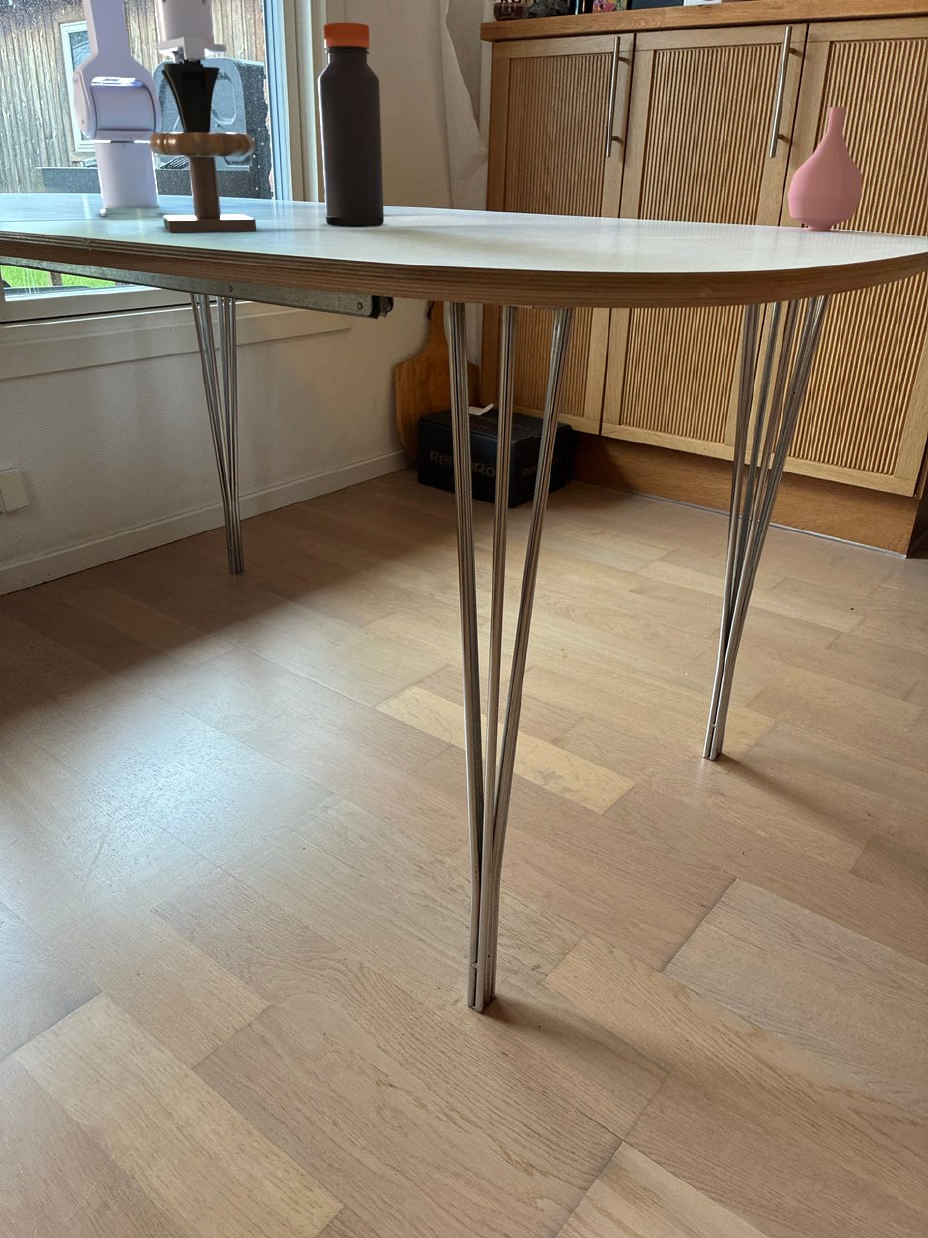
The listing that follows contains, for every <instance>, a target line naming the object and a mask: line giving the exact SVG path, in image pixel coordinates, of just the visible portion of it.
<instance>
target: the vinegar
mask: <svg viewBox="0 0 928 1238" xmlns="http://www.w3.org/2000/svg"><path fill="white" fill-rule="evenodd" d="M323 41H324V42H323V43H324V48H325V49H326V50H325V54H327V57H328V59H327V60H328V63H327V65H326V66H325V67H324V69H323V70H322V71H321V73H320V74H319V76H318V79H317V85H318V88H317V89H318V102H319V105H318V106H319V120H320V137H321V139H320V140H321V150H322V151H321V155H322V173H323V189H324V190H323V191H324V207H325V208H324V209H325V222H326V224H327V225H328V226H332V227H345V228H346V227H347V228H348V227H349V228H350V227H353V228H354V227H356V228H357V227H360V228H361V227H378V226H381V225H382V226H383V224H384V222H385V217H384V216H385V215H384V188H383V186H384V185H383V158H382V157H383V156H382V126H381V125H382V124H381V102H380V101H381V98H380V97H381V95H380V93H381V92H380V80H379V77H378V75H377V74H376V73H375V71H374V70H373V69H372V67H370V65H369V64H368V55H370V51H369V50H370V26H369V25H368V24H366V23H360V22H329V23H325V24H323Z"/></svg>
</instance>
